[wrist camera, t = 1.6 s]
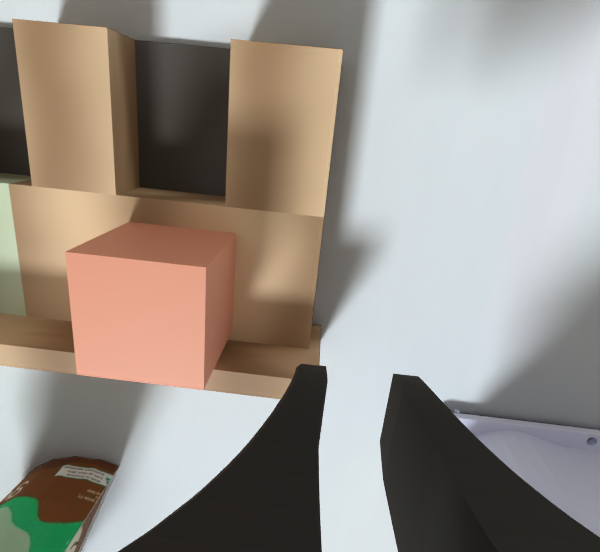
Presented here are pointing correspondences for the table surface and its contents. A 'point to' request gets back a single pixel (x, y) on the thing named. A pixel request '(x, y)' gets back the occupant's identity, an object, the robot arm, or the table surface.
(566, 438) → the robot arm
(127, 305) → the clay-red block
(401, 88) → the table surface
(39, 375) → the table surface
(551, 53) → the table surface
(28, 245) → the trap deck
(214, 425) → the table surface
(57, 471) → the food container
